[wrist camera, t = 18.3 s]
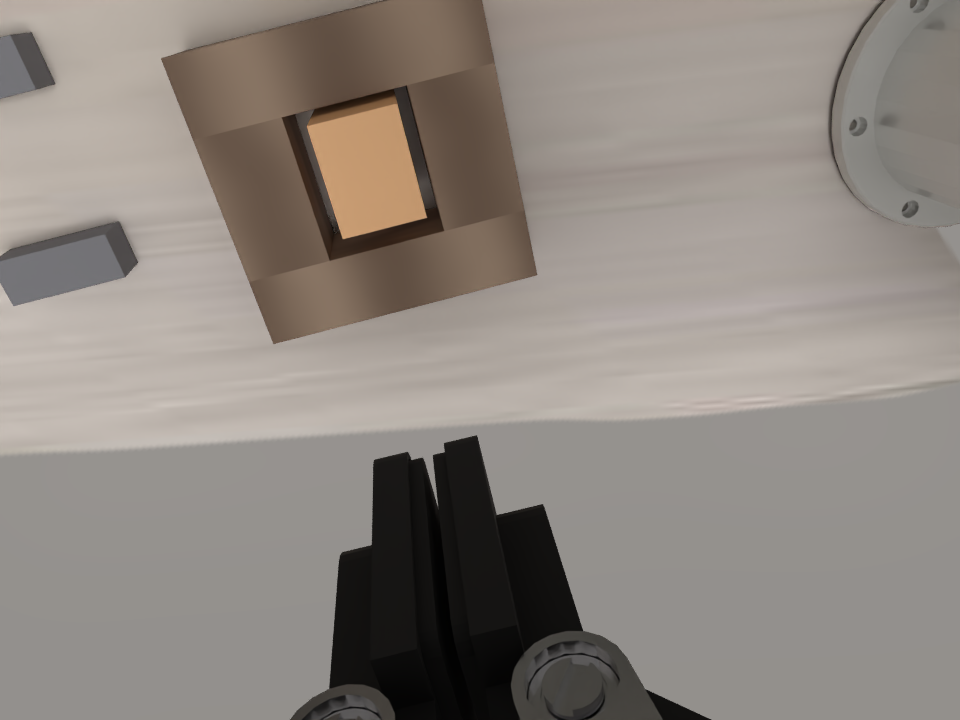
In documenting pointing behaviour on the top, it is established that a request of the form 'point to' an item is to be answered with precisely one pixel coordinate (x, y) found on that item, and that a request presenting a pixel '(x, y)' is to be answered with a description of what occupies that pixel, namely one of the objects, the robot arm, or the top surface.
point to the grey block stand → (69, 257)
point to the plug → (366, 164)
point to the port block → (291, 181)
